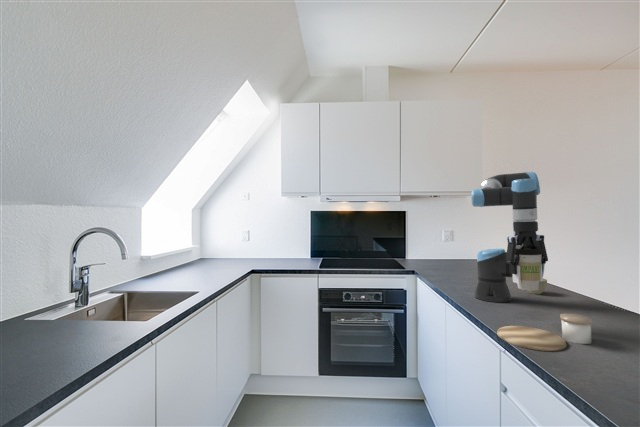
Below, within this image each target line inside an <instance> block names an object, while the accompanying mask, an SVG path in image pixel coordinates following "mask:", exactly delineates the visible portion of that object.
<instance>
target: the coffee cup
mask: <svg viewBox="0 0 640 427" xmlns="http://www.w3.org/2000/svg"><path fill="white" fill-rule="evenodd" d="M515 254H518V255H519V258H520V260H519V263H518V265H519V266H520V278H521V284H518V283H516V284H517V285H516V286H517V289H519V290H523V291H528V290H529V291H536V290H538V288H539V280H540V273H541V263H542V262H541V256H542V254H543V252H542V251H541V249H540V248H536V249H529V247H525V249H517V248H516V249H515ZM514 262H515V261H514Z"/></svg>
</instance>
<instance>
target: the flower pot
mask: <svg viewBox="0 0 640 427" xmlns="http://www.w3.org/2000/svg"><path fill="white" fill-rule="evenodd" d="M542 279H543V281H542V282H540V281H539V288H538V290H536V291H529V290H527V292H528V293H529V294H533V295H542V294H543V293H544V291H545V289H546V287H547V284H548V279H546V278H543V277H542Z"/></svg>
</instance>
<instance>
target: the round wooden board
mask: <svg viewBox="0 0 640 427" xmlns="http://www.w3.org/2000/svg"><path fill="white" fill-rule="evenodd" d="M496 333H497V336H498V338H499V339H501V340H503V341H504V342H506V343H507V344H510V345H513V346H516V347H520V348H522V349H527V350H532V351H533V350H534V351H540V352H558V351H562V350H564V349H567V340H565V339H563V338H562V336H560V335H558V334H556V333H554V332H552V331H548V330H545V329H541V328H537V327H536V328H535V327H532V326H523V325H507V326H501V327H500V328H498V329H497V331H496Z"/></svg>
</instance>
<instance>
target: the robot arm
mask: <svg viewBox="0 0 640 427" xmlns="http://www.w3.org/2000/svg"><path fill="white" fill-rule="evenodd" d="M470 194H471V205H472V207H477V208H478V207H480V208H484V207H503V206H504V207H505V206H511V207H512V228H513V236H507V238H506V240H507V249H506V250H505V248H490V249H483V250H480V251H478V252H477V254H476V255H477V256H476V258H477V260H476V262H477V283H476V287H475V291H474V298H475V299H478V300H481V301H484V302H491V303H507V302H511V301H512V294H511V292H510V289H509V287H508V285H507V278H512V283H515V284H517V283H518V284H521V278H520V266H519V265H518V263H519V260H520V258H519V255H518V254H515V249H516V248H517V249H525V247H529V249H536V248H540V249H541V251H542V252H543V254H542V256H541V262H542V263H541V273H540V280H539V281H540V282H542V281H543V279H542V278H543V277H544V273H545V267H546V266H545V264H546V263H547V262H549V258H548V257H549V256H548V253H547V249H546V244H545V235H543V234H537V232H538V231H539V222H538V221H537V220H538V206H537V205H538V202H537V201H538V199H537V198H538V197H537V196H538V195H540V194H541V186H540V180H539V178H538V174H537V173H536V172H533V171H524V172H516V173H505V174H504V173H503V174H502V173H501V174H497V175H493V176H490V177H488V178H487V179H485V180H483V181H482V183H481V184H480V188H478V189H477V188H476V189H472V191H471V193H470ZM514 261H515V262H514Z"/></svg>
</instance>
